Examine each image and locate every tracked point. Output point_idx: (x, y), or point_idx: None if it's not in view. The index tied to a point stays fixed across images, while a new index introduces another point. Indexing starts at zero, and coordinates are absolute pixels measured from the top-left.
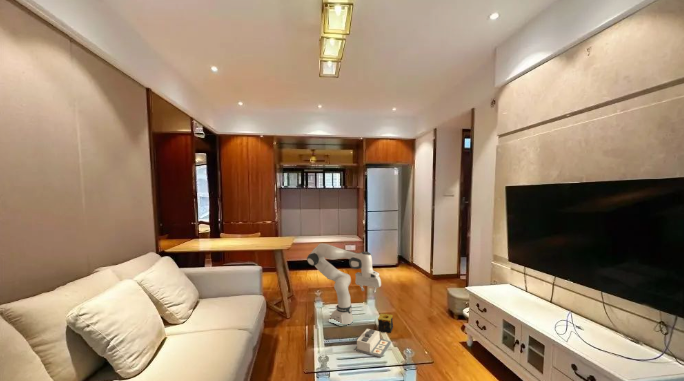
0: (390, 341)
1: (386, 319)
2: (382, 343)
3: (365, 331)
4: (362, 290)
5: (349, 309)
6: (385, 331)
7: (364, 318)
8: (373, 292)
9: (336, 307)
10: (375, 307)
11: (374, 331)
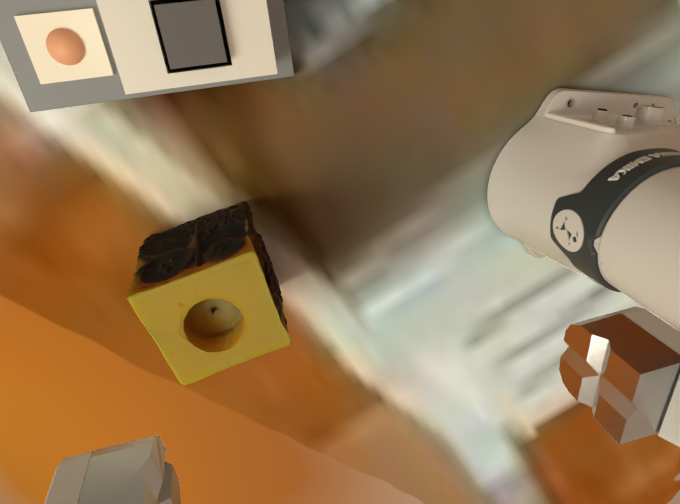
0: (33, 110)
1: (172, 292)
2: (64, 27)
3: (257, 7)
4: (620, 319)
5: (581, 217)
6: (188, 227)
7: (439, 292)
8: (138, 441)
9: None
10: (436, 430)
11: (168, 60)
